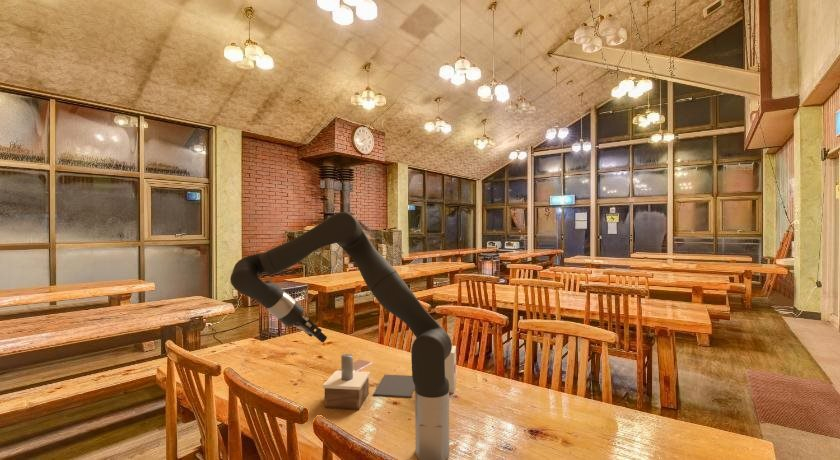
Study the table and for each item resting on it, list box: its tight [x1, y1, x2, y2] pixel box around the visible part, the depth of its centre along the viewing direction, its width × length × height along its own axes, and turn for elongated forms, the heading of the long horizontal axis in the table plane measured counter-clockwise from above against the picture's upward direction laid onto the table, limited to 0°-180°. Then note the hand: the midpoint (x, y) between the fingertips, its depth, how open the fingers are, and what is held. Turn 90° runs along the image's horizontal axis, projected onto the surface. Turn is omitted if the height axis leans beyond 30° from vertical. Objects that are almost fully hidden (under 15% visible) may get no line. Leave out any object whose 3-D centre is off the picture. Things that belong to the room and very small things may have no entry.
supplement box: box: [445, 345, 457, 394], centre depth 144 cm, size 9×9×15 cm
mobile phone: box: [338, 359, 372, 371], centre depth 166 cm, size 8×1×15 cm
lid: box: [322, 353, 371, 390], centre depth 134 cm, size 13×13×10 cm
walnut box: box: [324, 378, 370, 411], centre depth 134 cm, size 12×12×7 cm
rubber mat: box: [372, 374, 415, 399], centre depth 146 cm, size 18×14×1 cm
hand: (318, 337), depth 126 cm, fingers open, 8 cm apart
